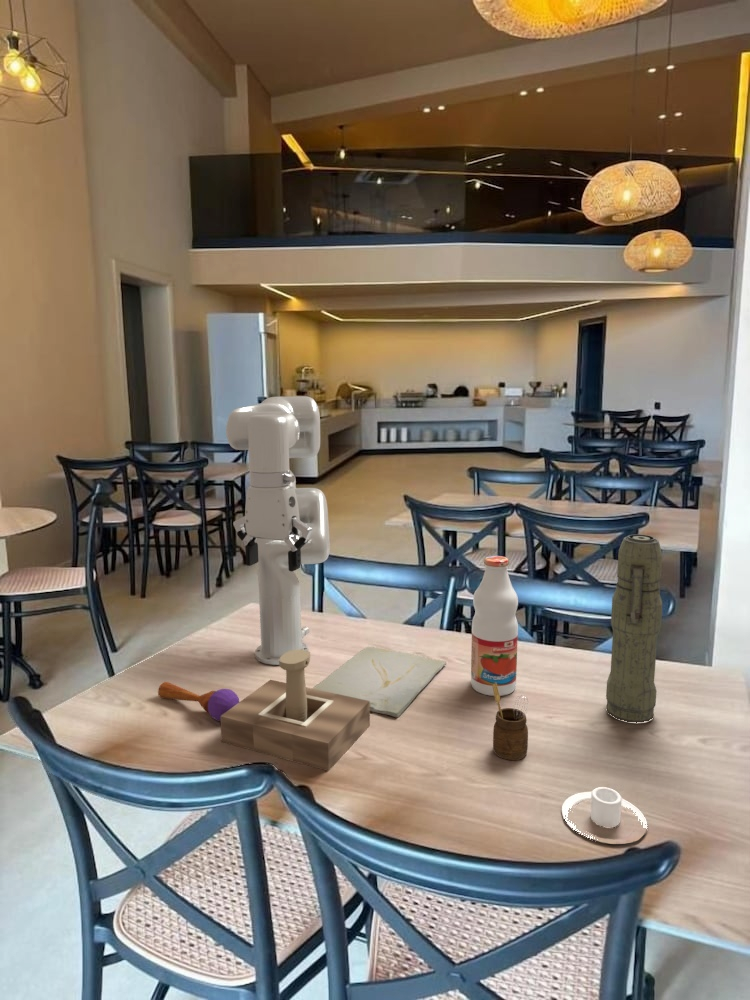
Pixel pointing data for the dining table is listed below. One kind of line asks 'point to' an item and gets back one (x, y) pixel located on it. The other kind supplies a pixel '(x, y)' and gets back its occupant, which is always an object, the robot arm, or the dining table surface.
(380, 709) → the decorative slab
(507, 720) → the utensil holder
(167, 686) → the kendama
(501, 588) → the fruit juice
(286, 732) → the brown flat block
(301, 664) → the handle
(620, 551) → the thermos
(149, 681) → the dining table surface
